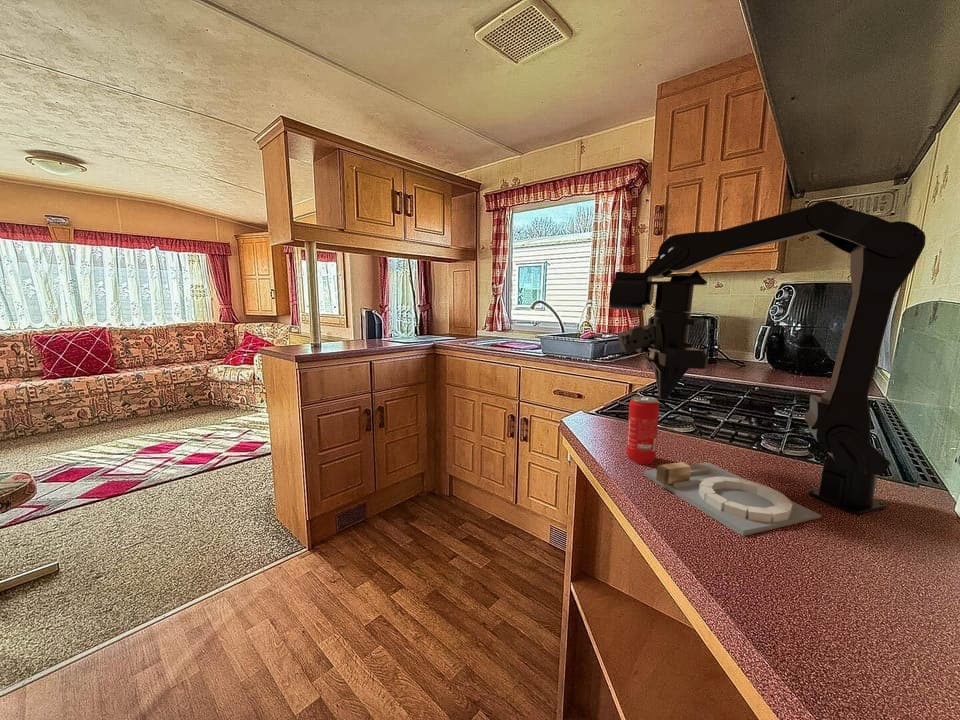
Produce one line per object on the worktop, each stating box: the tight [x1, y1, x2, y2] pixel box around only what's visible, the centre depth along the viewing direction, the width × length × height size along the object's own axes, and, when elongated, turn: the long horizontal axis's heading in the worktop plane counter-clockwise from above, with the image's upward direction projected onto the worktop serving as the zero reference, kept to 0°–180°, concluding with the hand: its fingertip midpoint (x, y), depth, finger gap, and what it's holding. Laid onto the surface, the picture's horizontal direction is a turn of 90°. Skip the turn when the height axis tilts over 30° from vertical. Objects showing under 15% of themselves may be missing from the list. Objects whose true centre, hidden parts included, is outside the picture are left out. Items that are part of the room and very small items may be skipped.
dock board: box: [643, 461, 822, 537], centre depth 62 cm, size 14×19×2 cm
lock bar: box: [656, 461, 691, 485], centre depth 64 cm, size 5×2×2 cm, turn 106°
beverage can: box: [625, 395, 660, 465], centre depth 75 cm, size 5×5×12 cm
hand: (662, 399), depth 70 cm, fingers closed
